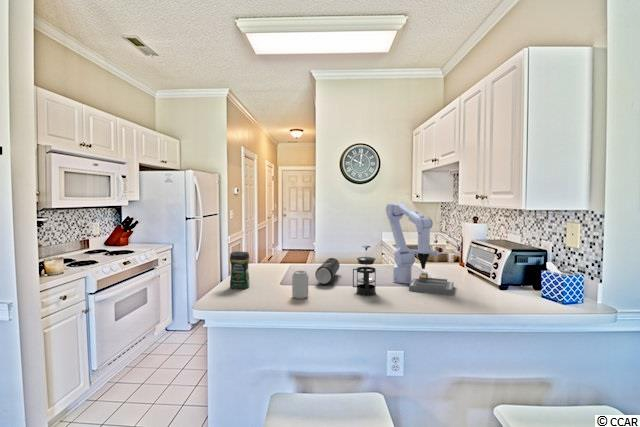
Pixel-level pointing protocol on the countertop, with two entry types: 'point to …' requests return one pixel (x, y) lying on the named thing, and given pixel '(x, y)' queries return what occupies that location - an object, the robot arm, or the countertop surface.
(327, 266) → the dark thermos flask
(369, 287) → the french press
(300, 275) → the can
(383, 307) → the countertop surface
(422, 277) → the breaker toggle
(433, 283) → the block
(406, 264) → the robot arm
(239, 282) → the coffee jar
